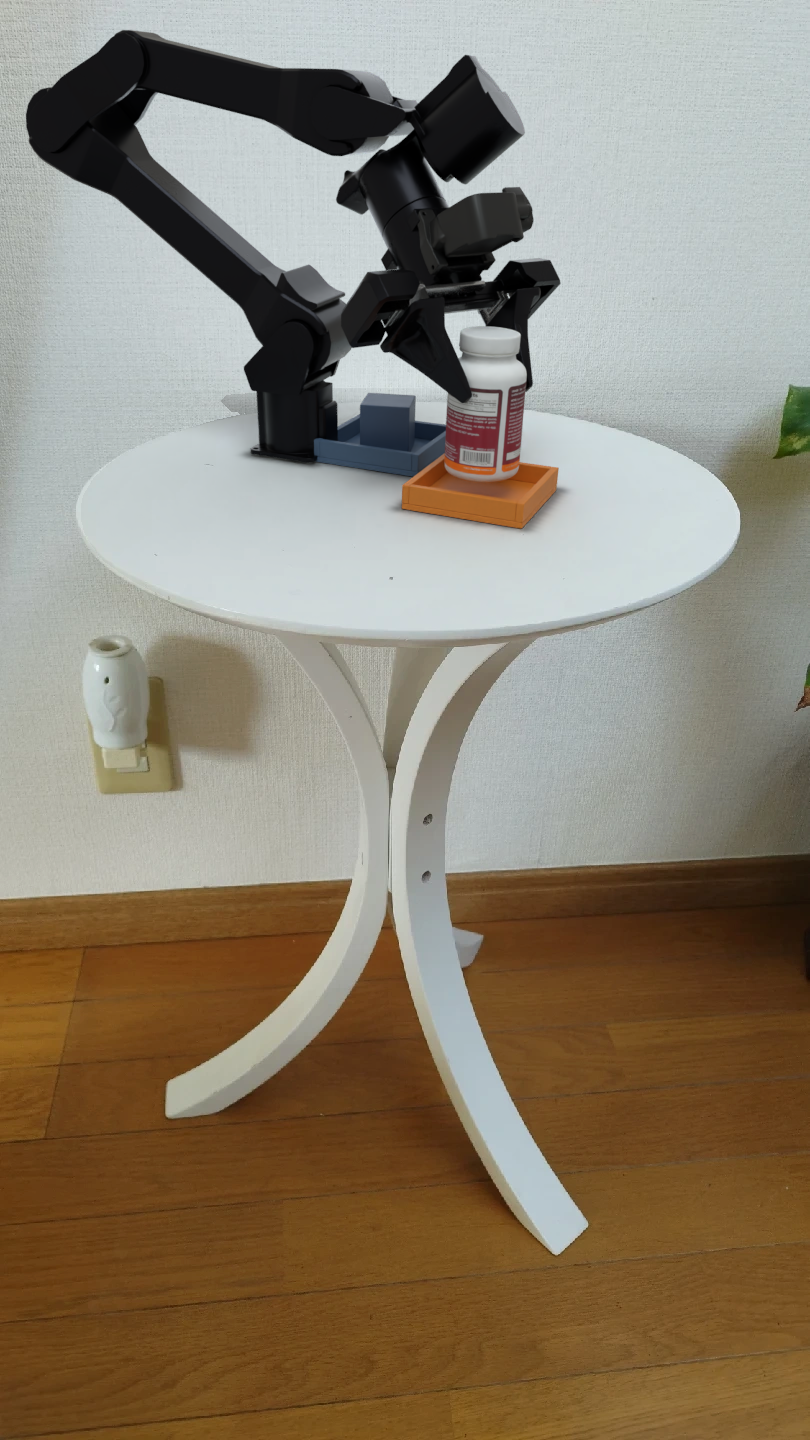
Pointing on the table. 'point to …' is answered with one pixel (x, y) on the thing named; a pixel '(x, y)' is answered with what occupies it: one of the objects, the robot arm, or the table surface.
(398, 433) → the slate block
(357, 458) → the slate tray
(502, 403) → the pill bottle
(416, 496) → the amber tray
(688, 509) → the table surface
